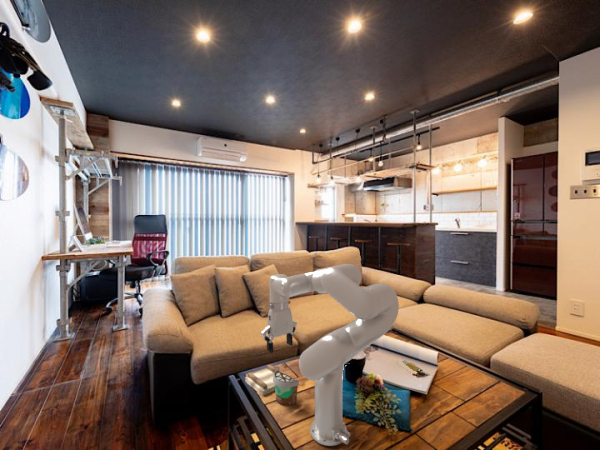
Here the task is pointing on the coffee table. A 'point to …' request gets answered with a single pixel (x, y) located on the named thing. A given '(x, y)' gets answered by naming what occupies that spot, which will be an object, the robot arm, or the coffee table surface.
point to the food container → (285, 388)
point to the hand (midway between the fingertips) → (280, 347)
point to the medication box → (410, 365)
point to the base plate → (262, 380)
